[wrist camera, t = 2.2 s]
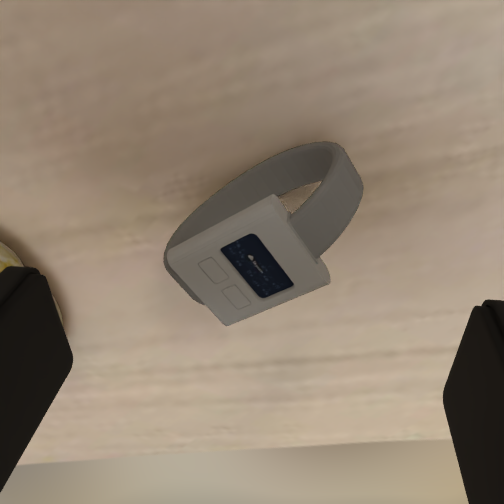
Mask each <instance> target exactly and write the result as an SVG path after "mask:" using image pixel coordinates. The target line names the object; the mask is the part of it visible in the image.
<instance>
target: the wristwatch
mask: <svg viewBox="0 0 504 504" xmlns="http://www.w3.org/2000/svg"><path fill="white" fill-rule="evenodd" d="M318 181H322V182H321V184H320V185H319V186H318V188H317V189H316V190H315V191H314V193H313V194H312V195H311V196H310V197H309V198H308V199H307V200H306V201H305V202H304V203H303V204H302V205H301V206H300V208H299V209H297V210H296V211H295V212H294V213H293V214H291V213H290V212H288V211H287V210H286V208H285V207H284V205H283V204H282V203H281V201H280V200H279V198H278V196H280V195H282V194H284V193H286V192H288V191H290V190H293V189H295V188H297V187H300V186H303V185H306V184H309V183H314V182H318ZM363 188H364V187H363V183H362V180H361V177H360V176H359V174H358V172H357V170H356V169H355V167H354V165H353V164H352V162H351V160H350V158H349V157H348V155H347V153H346V152H345V150H344V148H342V147H341V146H340V145H338V144H337V143H332V142H315V143H310V144H305V145H302V146H298V147H295V148H292V149H289V150H287V151H284V152H282V153H279V154H277V155H275V156H273V157H271V158H269V159H267V160H265V161H263V162H262V163H260V164H258V165H256V166H255V167H253V168H251V169H250V170H248V171H246V172H245V173H243V174H242V175H240V176H239V177H237V178H236V179H234V180H233V181H231V182H230V183H229V184H227V185H226V186H225V187H223V188H222V189H220V190H219V191H218V192H217V193H215V194H214V195H213V196H211V197H210V198H209V199H208V200H206V201H205V202H204V203H203V204H202V205H200V206H199V207H198V208H197V209H196V210H195V211H194V212H193V213H192V214H191V215H189V217H188V218H187V219H186V220H185V221H184V222H183V223H182V224H181V225H180V226H179V227H178V229H177V230H176V231H175V232H174V234H173V235H172V237H171V238H170V240H169V242H168V243H167V246H166V249H165V252H164V265H165V268H166V270H167V271H168V273H169V274H170V275H171V276H172V277H173V278H174V279H175V280H176V282H177V283H178V284H179V285H180V286H181V287H182V288H183V289H184V290H185V291H186V292H187V293H188V294H189V296H190V297H191V298H192V299H193V300H195V301H197V302H199V303H200V304H203V305H206V306H207V307H208V308H209V309H210V310H211V311H212V312H213V314H214V315H215V316H216V317H217V318H218V319H219V320H220V321H221V322H222V323H223V324H224V325H226V326H229V325H231V324H234V323H236V322H239V321H241V320H244V319H246V318H248V317H251V316H253V315H256V314H258V313H260V312H263V311H265V310H268V309H270V308H272V307H275V306H277V305H280V304H282V303H284V302H287V301H289V300H292V299H294V298H296V297H299V296H301V295H304V294H306V293H308V292H311V291H313V290H316V289H318V288H321V287H323V286H325V285H328V284H330V274H329V271H328V269H327V267H326V265H325V264H324V262H323V261H322V259H321V258H320V257H319V256H320V255H322V254H323V253H324V252H325V251H326V250H327V249H328V248H329V247H330V246H331V245H332V244H333V243H334V242H335V241H336V239H337V238H338V237H339V236H340V235H341V234H342V232H343V231H344V230H345V228H346V227H347V225H348V224H349V223H350V221H351V219H352V218H353V216H354V214H355V212H356V211H357V208H358V206H359V204H360V201H361V199H362V195H363Z"/></svg>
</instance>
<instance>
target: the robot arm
mask: <svg viewBox="0 0 504 504" xmlns="http://www.w3.org/2000/svg"><path fill="white" fill-rule="evenodd" d="M72 364H73V354H72V351H71V348H70V346H69V343H68V340H67V337H66V334H65V331H64V328H63V325H62V322H61V320H60V317H59V314H58V311H57V308H56V305H55V302H54V299H53V296H52V294H51V291H50V288H49V285H48V282H47V279H46V277H45V276H44V275H41V274H40V272H39V271H38V270H37V269H36V268H33V267H19V266H8V267H6V268H5V269H4V270H3V271H2V272H1V273H0V492H1V491H2V489H3V487H4V485H5V484H6V482H7V480H8V478H9V476H10V475H11V473H12V471H13V469H14V468H15V466H16V464H17V463H18V461H19V459H20V457H21V456H22V454H23V452H24V450H25V449H26V447H27V445H28V443H29V442H30V440H31V438H32V437H33V435H34V433H35V431H36V430H37V428H38V426H39V424H40V423H41V421H42V419H43V417H44V416H45V414H46V412H47V410H48V409H49V407H50V405H51V403H52V402H53V400H54V398H55V396H56V395H57V393H58V391H59V389H60V388H61V386H62V384H63V382H64V381H65V379H66V377H67V375H68V374H69V372H70V370H71V368H72ZM443 404H444V409H445V413H446V417H447V421H448V425H449V428H450V432H451V436H452V440H453V444H454V448H455V452H456V456H457V459H458V463H459V467H460V471H461V475H462V479H463V483H464V487H465V491H466V494H467V498H468V502H469V504H504V301H501V300H485V301H484V302H483V304H482V306H475V307H474V308H473V310H472V312H471V315H470V318H469V320H468V323H467V326H466V329H465V332H464V334H463V337H462V340H461V343H460V345H459V348H458V351H457V354H456V357H455V359H454V362H453V365H452V368H451V371H450V373H449V376H448V379H447V382H446V384H445V387H444V391H443Z"/></svg>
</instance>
